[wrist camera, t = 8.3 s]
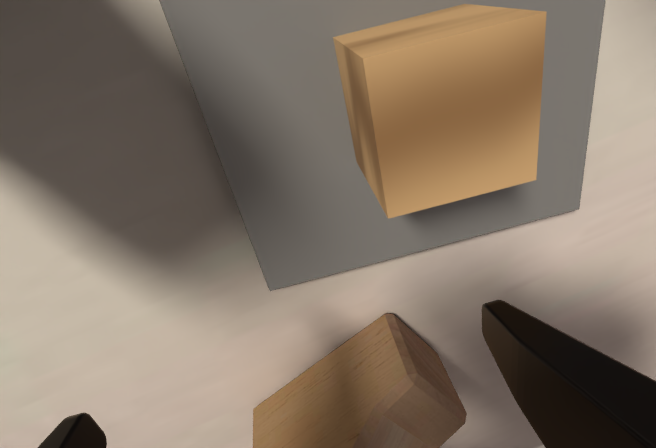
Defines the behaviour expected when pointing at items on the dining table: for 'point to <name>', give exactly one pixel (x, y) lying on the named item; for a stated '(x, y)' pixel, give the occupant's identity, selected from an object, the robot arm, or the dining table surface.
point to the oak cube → (444, 103)
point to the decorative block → (365, 397)
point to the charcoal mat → (335, 135)
